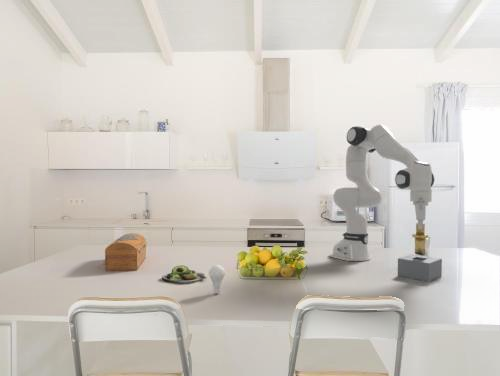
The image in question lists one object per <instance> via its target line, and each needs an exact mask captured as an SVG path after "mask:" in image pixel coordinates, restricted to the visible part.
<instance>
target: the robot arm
mask: <svg viewBox="0 0 500 376" xmlns="http://www.w3.org/2000/svg"><path fill="white" fill-rule="evenodd" d="M346 141H347V143H348V144H349V146H348V147H347V149H346V156H345V174H346V175H345V176H346V178H347V180H348V181H350V182H352V183H354V184H356V186H357V187H341V188H337V189H335V191H334V193H333V194H332V199H333V203H334V204H335V206H336V207H338V208H339V209H340V210H341V211H342V212H343V214H344V217H345V222H346V231H345V232H344V233H342V235H341V236H342V237H343V238H342V239H341V240H340V241H338V242H336V244H334V246H333V249H332V252H331V253H330V252H329V254H328V257H330V258H335V259H338V260H343V261H347V262H353V261H354V262H366V261H369V260H371V258H370V257H371V256H370V254H369V253H370V252H369V246H368V243H369V233H368V218H367V217H366V216H364V214H361V213H359V212H357V209H359V208H365V209H369V208H376V207H379V205H381V202H382V199H383V197H382V193H381V191H380V190H379V189H378V188H377V187H376V186H374V185H373V184H372V183H371V181H370V178H369V176H368V175H369V174H368V169H367V154H368V153H370V154H371V153H374V152H375V151H376V152H377V154H378V155H379V156H380V157H382V158H383V159H385V160H386V159H387V160H391V161H396V162H399V163H402V164H403V165H405V167H406V168H403V169H399V170H398V171H397V173H396V174H395V178H394V180H395V184H396V186H397V188H398V189H400V190H407V191H409V190H410V194H409V196H410V199H409V201H410V202H412V204H413V206H414V211H415V219H416V220H417V223H418V229H422V228H423V224H424V221H425V220H426V208H427V206H429V203H431V202H432V196H433V195H432V192H433V191H432V190H433V189H432V187H433V185H434V183H435V176H434V173H433V171H432V165H431V164H430V163H428V162H426V161H425V162H424V161H420V160H419V159H418V158H417V157H416V156H415V155H414V153H412V151H411V150H409V149H408V147H407V148H406V147H405V146H404V145H403V144H402V143H401V142H399V140H398V139H397V138H396V137H395V135H394V134H393V132H391V130H390V129H389V128H388V127H387V126H386V125H384V124H376V125H375V126H374V125H373V126H372V128H369V127H362V126H352V127H350V128H349V129H348V131H347V133H346Z"/></svg>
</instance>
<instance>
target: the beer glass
mask: <svg viewBox="0 0 500 376" xmlns="http://www.w3.org/2000/svg"><path fill="white" fill-rule="evenodd" d="M431 248H432V241H431V237H429V236H428V238H426V239H425V255H420V256H427V257H431V256H430V255H431V251H432V250H431ZM415 255H418V254H415Z"/></svg>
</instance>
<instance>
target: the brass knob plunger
mask: <svg viewBox="0 0 500 376" xmlns="http://www.w3.org/2000/svg"><path fill="white" fill-rule="evenodd" d="M425 225H426V224H425V223H423V228H422V229H418V222H417V223H416V224H415V233H412V234H411V237H412V238H414V255H416V254H418V255H425V239H426V238H428V237H429V234H426V232H425V231H426V229H425V228H426V227H425Z"/></svg>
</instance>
